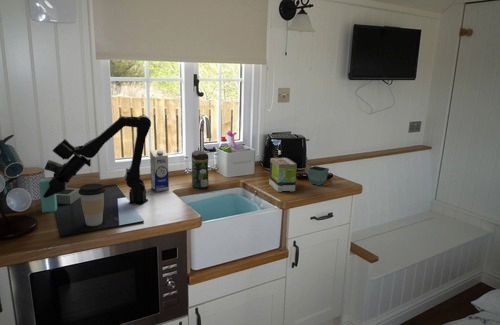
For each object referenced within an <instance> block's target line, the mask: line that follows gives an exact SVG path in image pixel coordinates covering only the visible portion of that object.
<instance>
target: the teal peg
mask: <svg viewBox="0 0 500 325" xmlns="http://www.w3.org/2000/svg"><path fill="white" fill-rule="evenodd" d="M52 178H53V177H51V178H41V179H40V180H39V182H38V188H39V195H40V204H41V212H42V213H51V212H57V210H58V204H57V199H56V194H54V195H51V196H49V197H47V198H44V197H43V196H44V194H45V193H46V191H47V190H48V188H49V187H50V186H49V181H50V180H51V179H52Z"/></svg>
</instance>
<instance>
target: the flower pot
mask: <svg viewBox="0 0 500 325" xmlns="http://www.w3.org/2000/svg"><path fill="white" fill-rule="evenodd" d="M329 170H330V168H329V167H328V168H327V167H323V166H317V165H315V166H311V167H309V168H307V177H308V180H309V183H310V184H311V183H312V184H311V185H313V184H317V185H316V186H318V185H320V186H322V185H324V184H325V182H326V181H327V179H328V174H329ZM323 183H324V184H323ZM321 184H322V185H321Z"/></svg>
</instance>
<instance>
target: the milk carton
mask: <svg viewBox="0 0 500 325" xmlns="http://www.w3.org/2000/svg"><path fill="white" fill-rule="evenodd" d="M149 156H150V157H149V158H150V162H149V163H150V185H151V190H152V191H154V192H155V193H159V192H160V193H161V192H165V191H169V190H170V188H169V187H170V186H169V185H170V183H169V181H170V180H169V155H168V153H167V152H166V150H165V149H164V148H163V149H152V150H149Z"/></svg>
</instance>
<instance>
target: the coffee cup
mask: <svg viewBox="0 0 500 325" xmlns="http://www.w3.org/2000/svg"><path fill="white" fill-rule="evenodd" d="M79 189H80V190H79V194H80V203H81V208H82V213H83V217H84V221H85V225H86V226H89V227H96V226H100V225H101V224H103V220H104V219H103V218H104V216H103V215H104V209H105V208H104V205H105V204H104V203H105V202H104V201H105V196H104V195H105V194H104V192H106V189H105V187H104V186H103V184H101V183H87V184H83V185H80V188H79Z"/></svg>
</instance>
